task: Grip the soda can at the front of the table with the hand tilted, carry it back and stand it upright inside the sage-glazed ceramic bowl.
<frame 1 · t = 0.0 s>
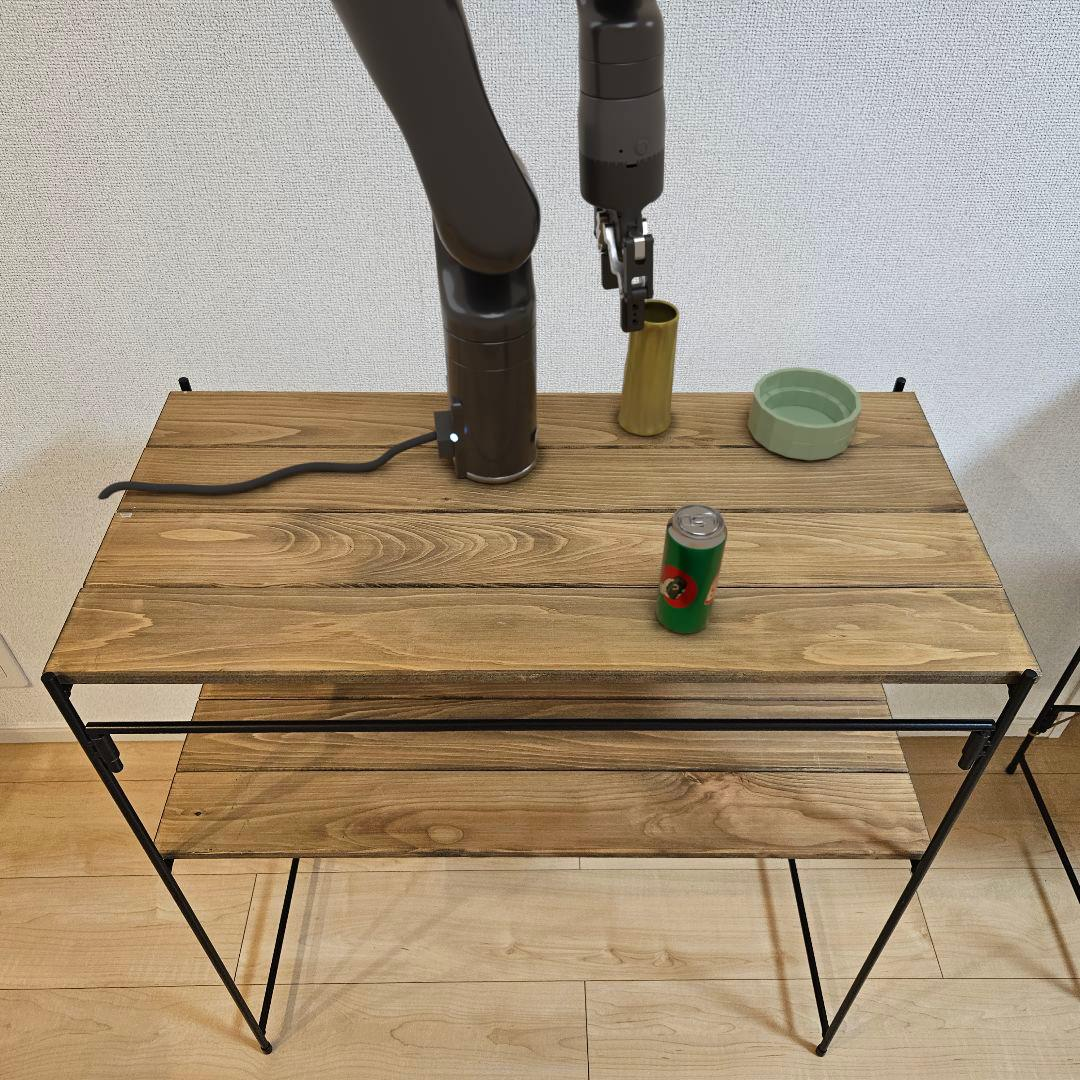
hand: (622, 308, 88), 17 cm above the table, tool pointing down, fingers open, 8 cm apart
vase: (643, 422, 104), on the table
bowl: (798, 432, 102), on the table
soda can: (682, 617, 82), on the table
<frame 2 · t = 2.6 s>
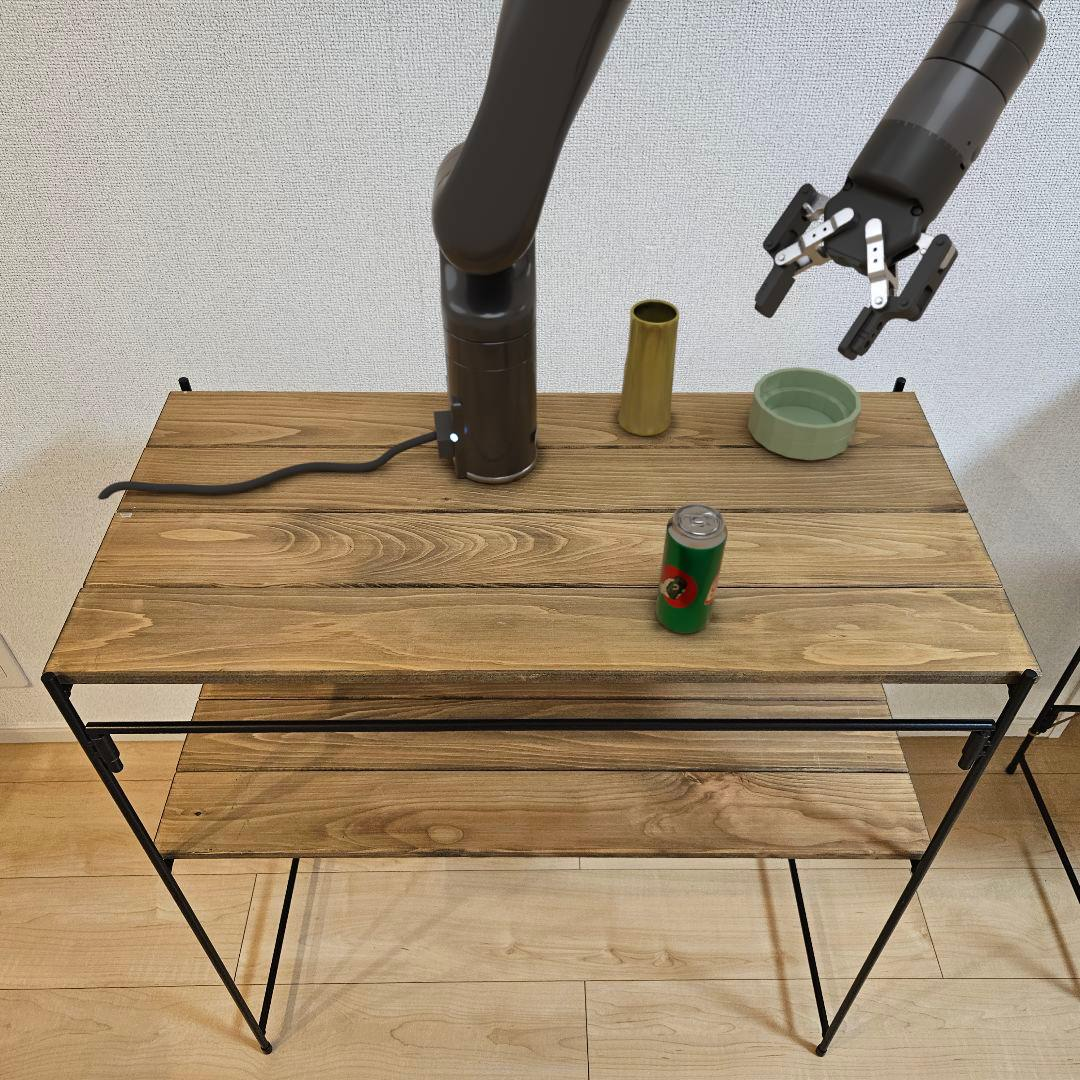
hand: (801, 334, 71), 25 cm above the table, tool tilted 40°, fingers open, 8 cm apart
nothing on the table moved.
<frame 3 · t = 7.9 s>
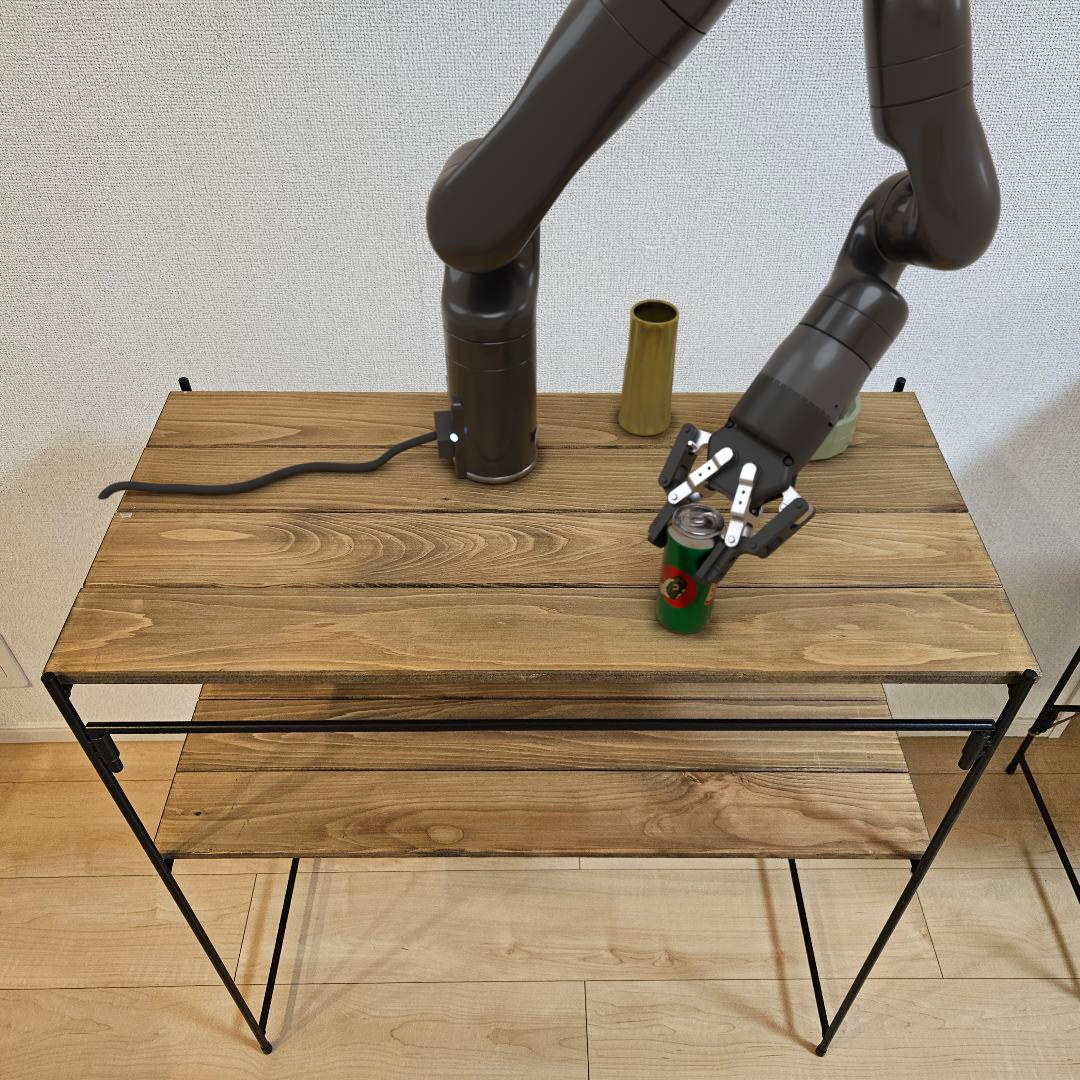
hand: (677, 562, 75), 8 cm above the table, tool tilted 45°, fingers closed on soda can, 5 cm apart
soda can: (682, 617, 82), on the table, touching gripper
everything else where it was.
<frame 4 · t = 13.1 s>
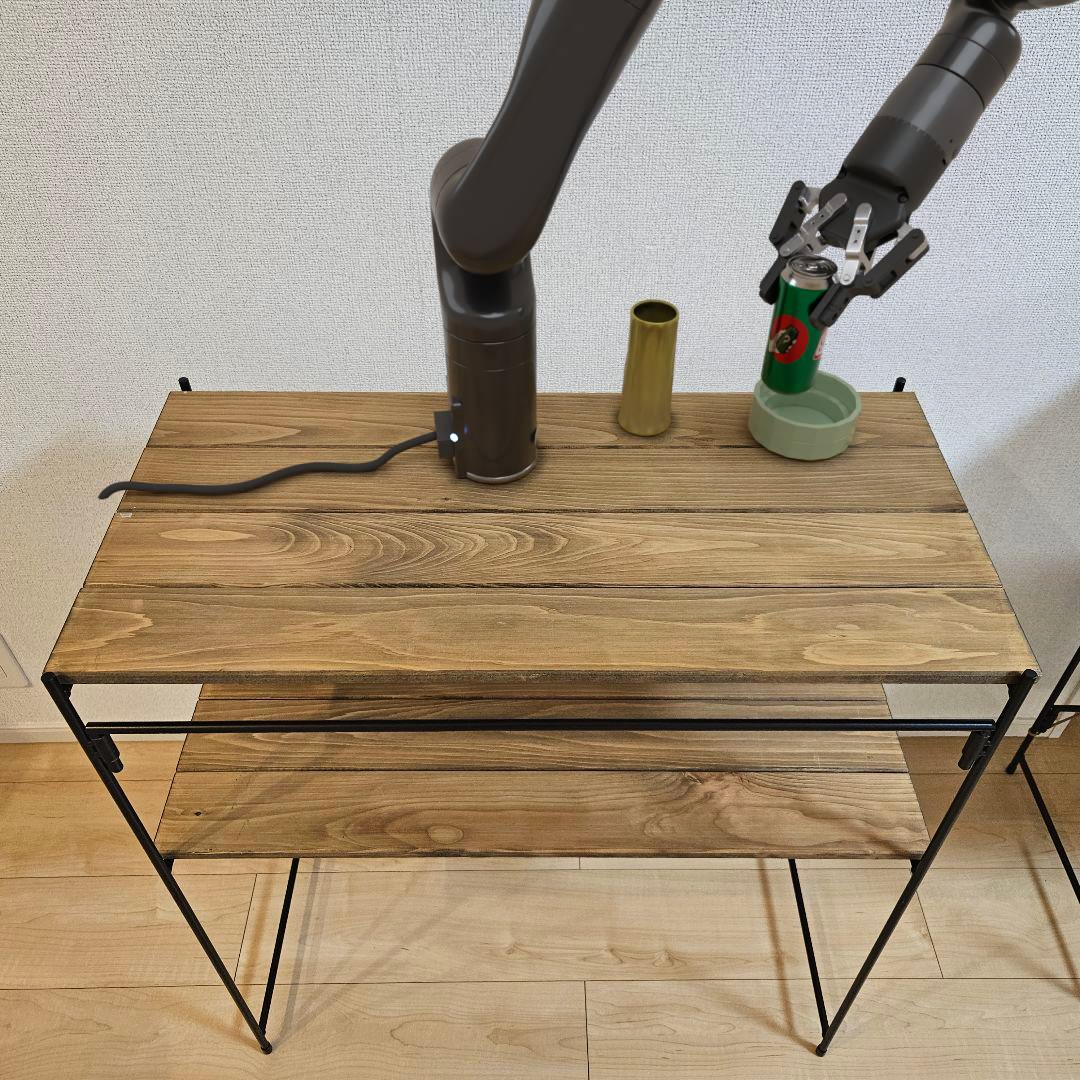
hand: (789, 312, 78), 22 cm above the table, tool tilted 45°, fingers closed on soda can, 5 cm apart
soda can: (786, 385, 85), point 14 cm above the table, touching gripper
everything else where it was.
when the fingers open (9 cm above the table, at t = 18.7 s): soda can stays where it is, resting on bowl.
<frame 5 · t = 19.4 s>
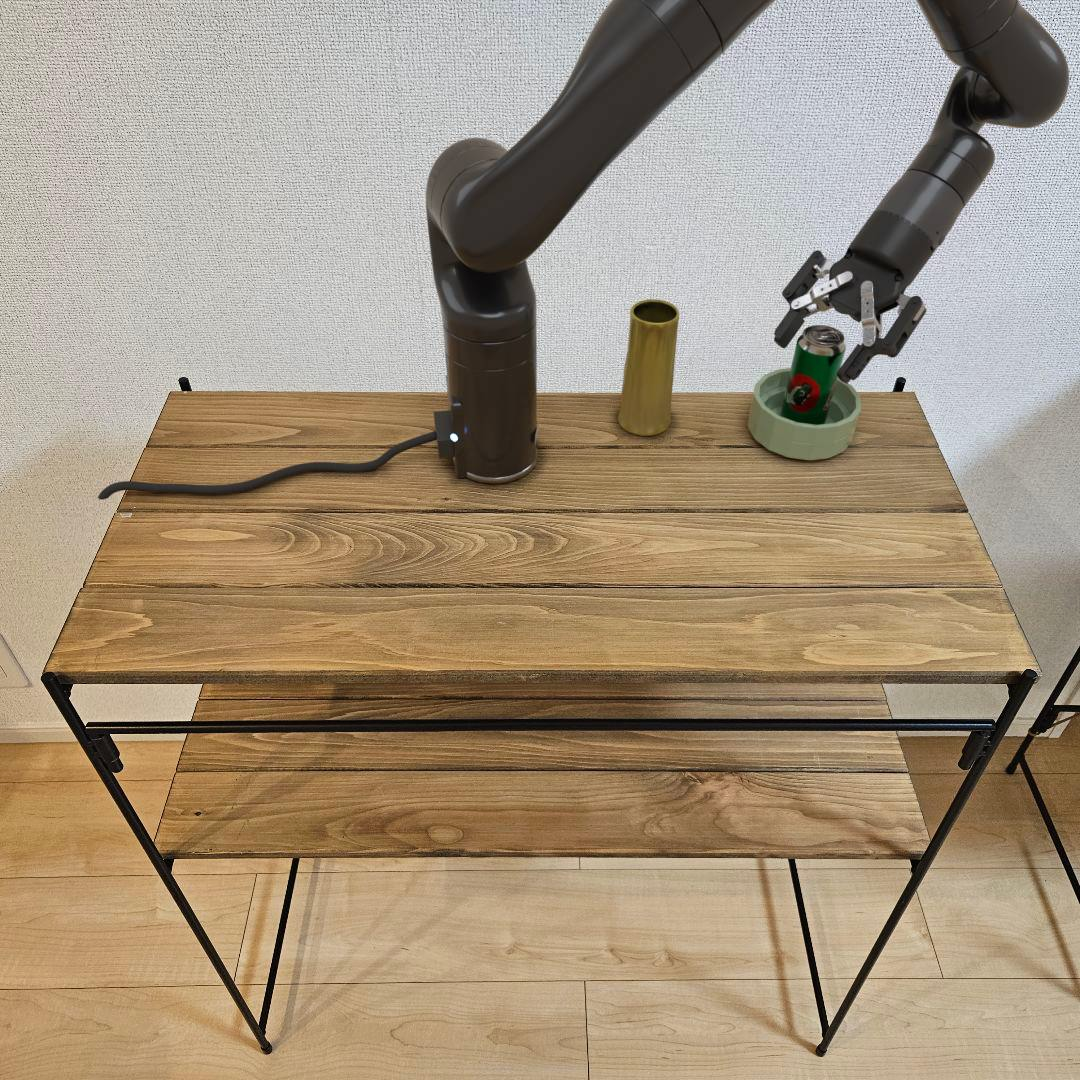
hand: (809, 361, 95), 10 cm above the table, tool tilted 45°, fingers open, 8 cm apart
soda can: (800, 428, 102), resting on bowl
everything else where it was.
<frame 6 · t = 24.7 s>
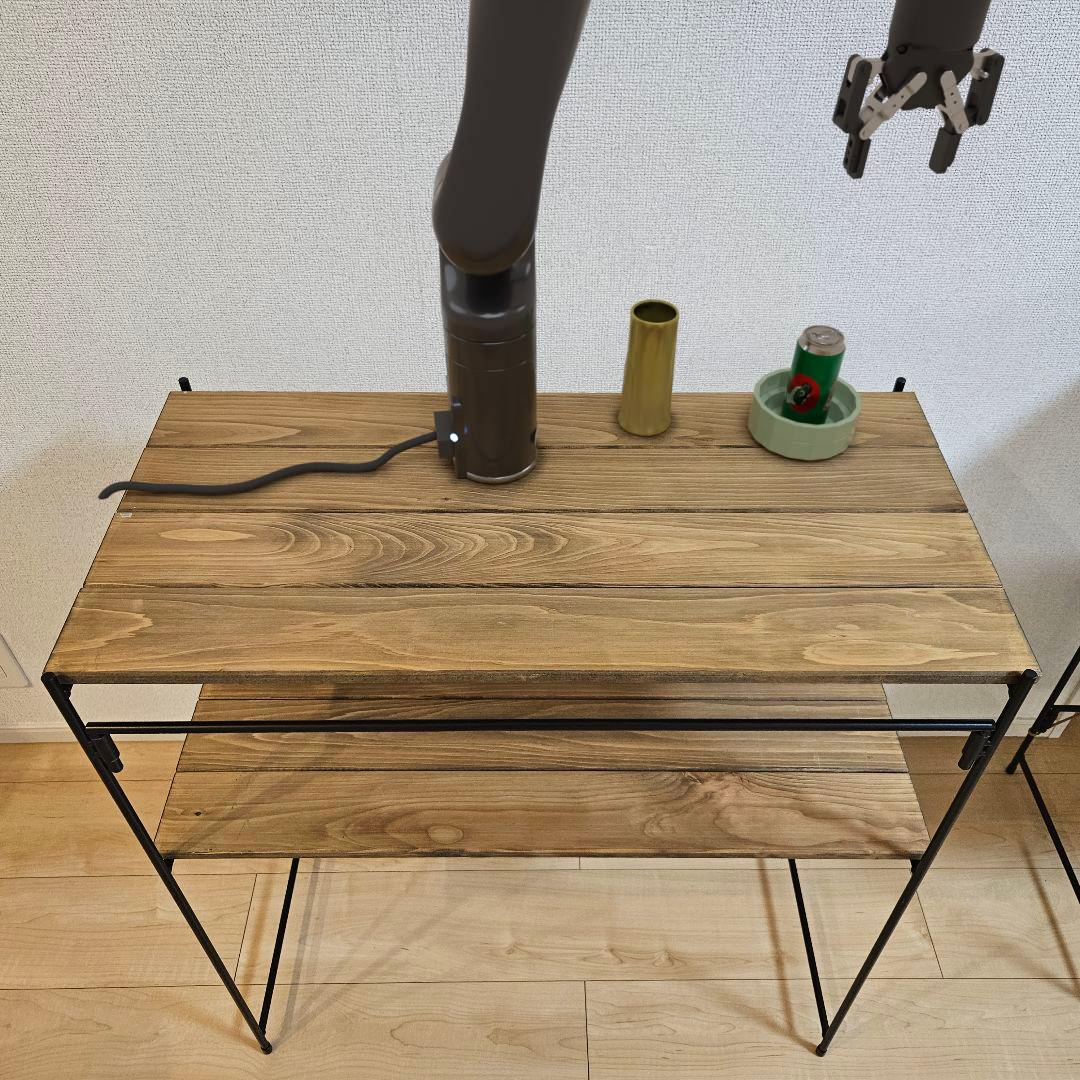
hand: (895, 173, 85), 28 cm above the table, tool pointing down, fingers open, 8 cm apart
nothing on the table moved.
at the end: soda can 0.2 cm off-centre in the bowl, point 0.4 cm above the bowl's base; soda can tilted 0° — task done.
